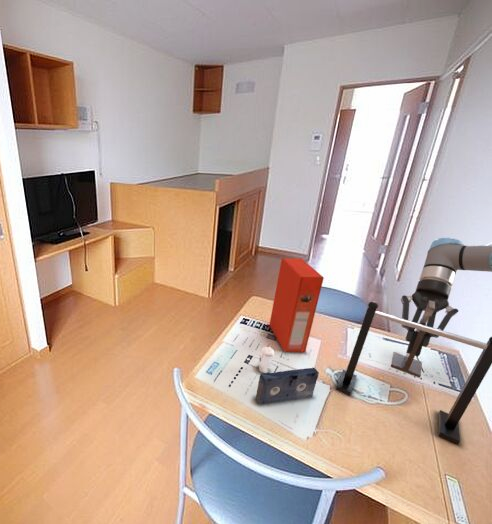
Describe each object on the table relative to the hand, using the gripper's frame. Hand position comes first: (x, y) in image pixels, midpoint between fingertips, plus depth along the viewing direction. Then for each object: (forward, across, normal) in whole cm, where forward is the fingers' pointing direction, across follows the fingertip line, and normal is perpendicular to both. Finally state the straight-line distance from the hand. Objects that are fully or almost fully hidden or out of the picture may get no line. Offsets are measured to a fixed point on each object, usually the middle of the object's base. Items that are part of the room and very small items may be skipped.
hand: (412, 353), depth 89 cm
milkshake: (+23, +36, -2) cm, 43 cm away
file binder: (+6, +36, -19) cm, 41 cm away
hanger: (+2, 0, -8) cm, 8 cm away
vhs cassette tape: (+29, +26, +4) cm, 39 cm away
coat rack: (+15, 0, -11) cm, 18 cm away
